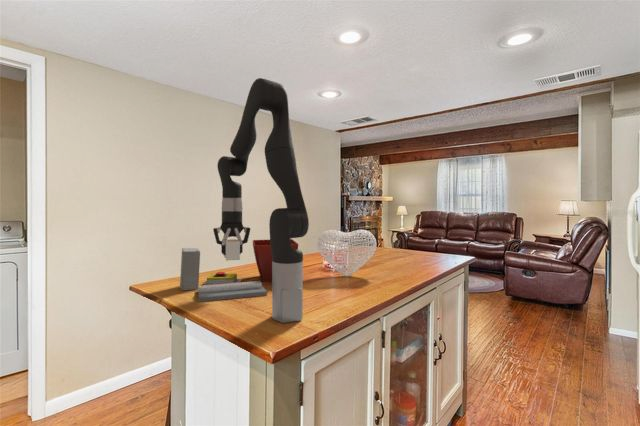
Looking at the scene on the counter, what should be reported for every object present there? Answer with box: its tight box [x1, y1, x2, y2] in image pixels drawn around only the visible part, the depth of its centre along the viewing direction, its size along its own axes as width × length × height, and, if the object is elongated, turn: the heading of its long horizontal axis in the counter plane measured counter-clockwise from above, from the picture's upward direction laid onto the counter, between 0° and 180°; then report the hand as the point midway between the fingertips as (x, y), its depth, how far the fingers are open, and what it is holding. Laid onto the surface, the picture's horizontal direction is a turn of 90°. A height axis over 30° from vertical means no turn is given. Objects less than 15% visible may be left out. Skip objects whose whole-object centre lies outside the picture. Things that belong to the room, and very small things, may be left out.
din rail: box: [200, 280, 263, 293], centre depth 124 cm, size 4×22×2 cm, turn 111°
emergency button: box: [203, 271, 242, 285], centre depth 142 cm, size 9×4×15 cm
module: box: [223, 238, 241, 262], centre depth 124 cm, size 7×5×7 cm
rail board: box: [197, 285, 268, 303], centre depth 124 cm, size 14×24×2 cm, turn 111°
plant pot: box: [252, 238, 299, 283], centre depth 149 cm, size 19×19×17 cm
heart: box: [317, 229, 378, 277], centre depth 154 cm, size 28×16×22 cm, turn 98°
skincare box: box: [179, 247, 201, 291], centre depth 132 cm, size 8×7×16 cm
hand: (231, 254), depth 124 cm, fingers closed on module, 5 cm apart
